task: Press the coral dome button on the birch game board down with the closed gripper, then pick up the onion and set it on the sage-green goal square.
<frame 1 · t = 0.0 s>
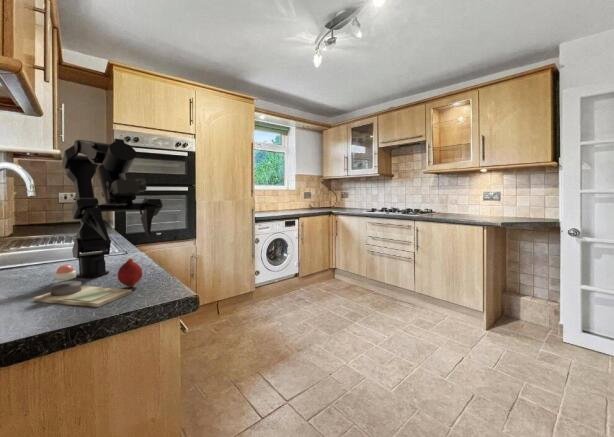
hand: (128, 237, 71), 15 cm above the counter, tool tilted 35°, fingers open, 9 cm apart
button: (65, 271, 73), point 6 cm above the counter, slide at 1.6 cm
board: (85, 296, 73), on the counter
onion: (130, 287, 81), on the counter
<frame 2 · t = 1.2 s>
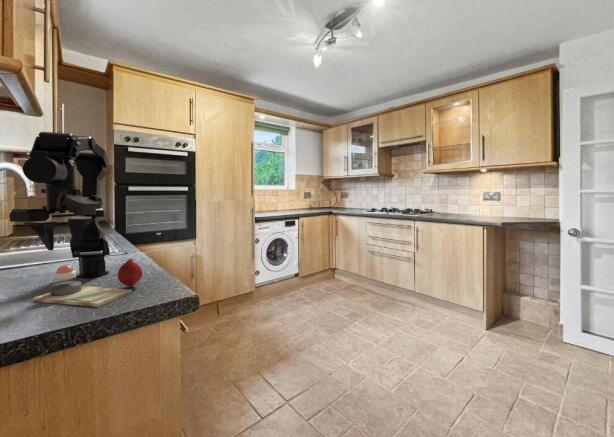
hand: (64, 248, 73), 12 cm above the counter, tool pointing down, fingers open, 6 cm apart
nothing on the counter moved.
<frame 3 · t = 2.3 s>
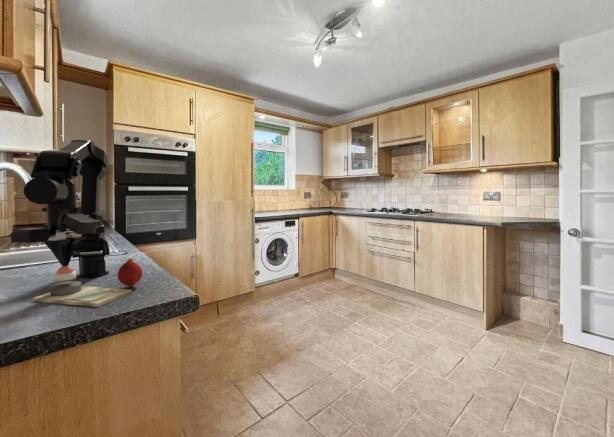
hand: (65, 265, 73), 8 cm above the counter, tool pointing down, fingers closed, pressing on button
button: (65, 272, 73), point 6 cm above the counter, slide at 1.4 cm, touching gripper
everything else where it was.
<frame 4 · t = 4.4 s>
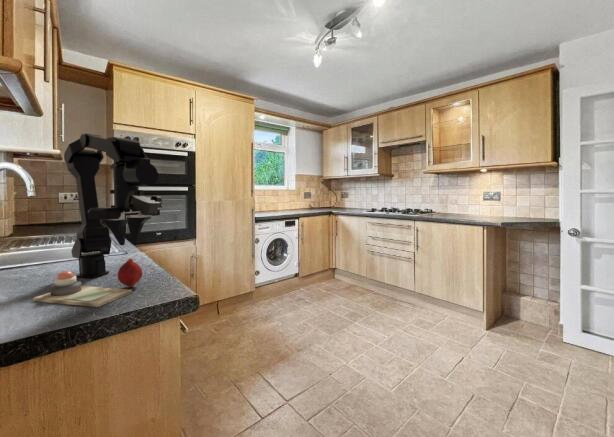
hand: (128, 243, 80), 12 cm above the counter, tool pointing down, fingers open, 4 cm apart
button: (65, 277, 73), point 4 cm above the counter, slide at 0.0 cm, touching board
everything else where it was.
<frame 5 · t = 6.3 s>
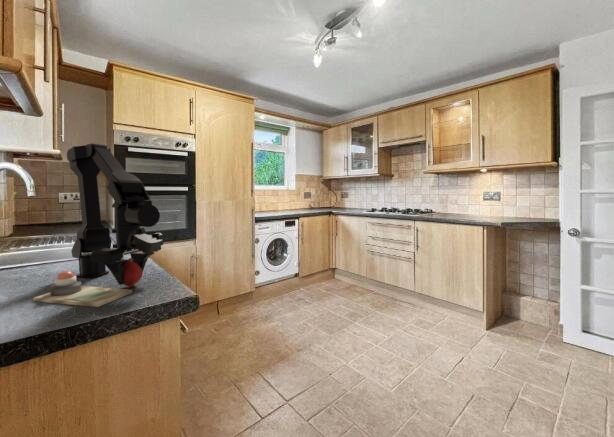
hand: (130, 281, 80), 2 cm above the counter, tool pointing down, fingers closed on onion, 6 cm apart
onion: (130, 287, 81), on the counter, touching gripper
everything else where it was.
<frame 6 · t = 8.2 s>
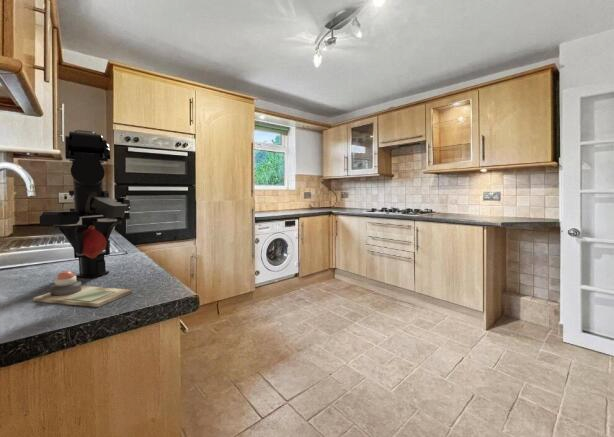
hand: (91, 251, 71), 12 cm above the counter, tool pointing down, fingers closed on onion, 6 cm apart
onion: (92, 259, 71), point 10 cm above the counter, touching gripper
everything else where it was.
when the fingers open (4 cm above the counter, at t = 10.0 s): onion drops 2 cm, resting on board.
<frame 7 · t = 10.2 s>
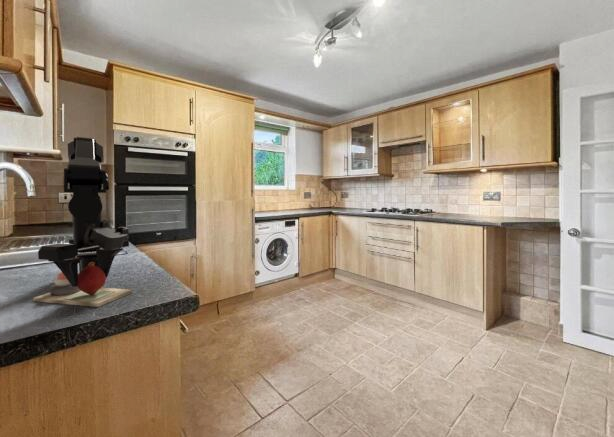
hand: (90, 281, 71), 4 cm above the counter, tool pointing down, fingers open, 8 cm apart
onion: (91, 295, 71), point 1 cm above the counter, touching board
everything else where it was.
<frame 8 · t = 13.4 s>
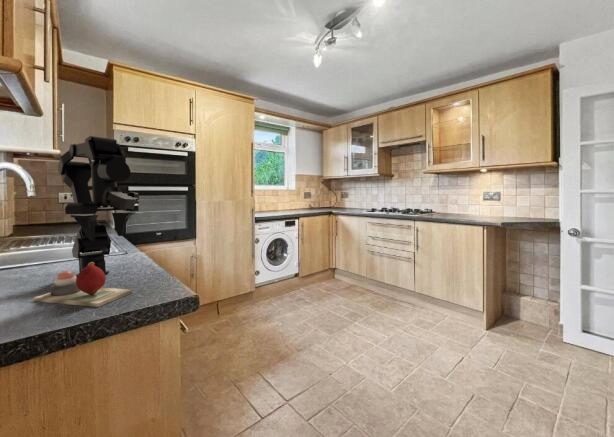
hand: (106, 238, 83), 13 cm above the counter, tool pointing down, fingers open, 9 cm apart
nothing on the counter moved.
at the end: button slide at 0.0 cm; onion inside the target area (0.1 cm from its centre), point 0.8 cm above the counter; the gripper is holding nothing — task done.
